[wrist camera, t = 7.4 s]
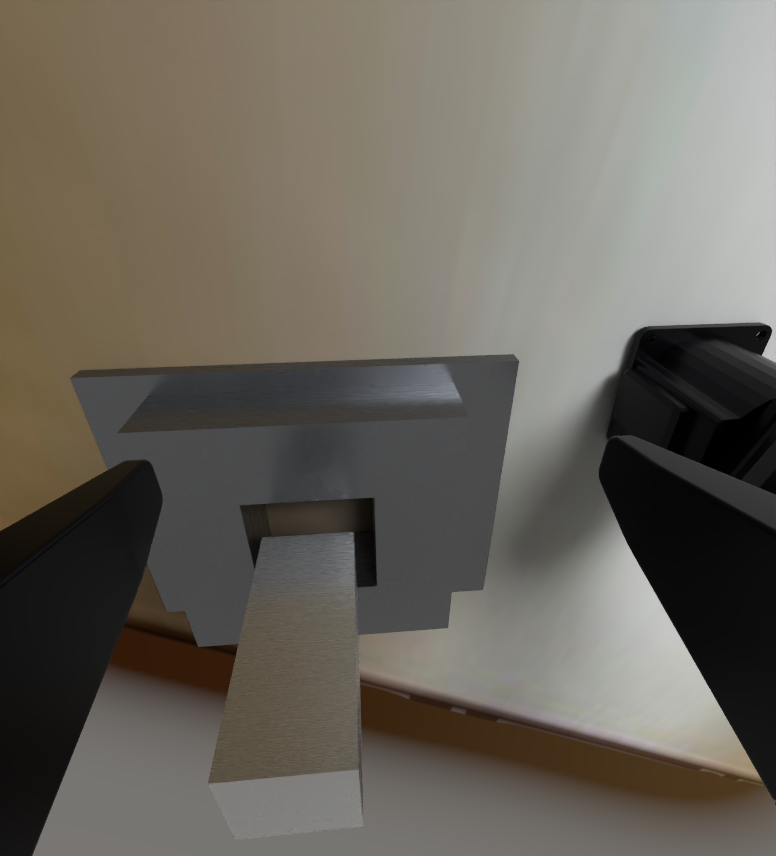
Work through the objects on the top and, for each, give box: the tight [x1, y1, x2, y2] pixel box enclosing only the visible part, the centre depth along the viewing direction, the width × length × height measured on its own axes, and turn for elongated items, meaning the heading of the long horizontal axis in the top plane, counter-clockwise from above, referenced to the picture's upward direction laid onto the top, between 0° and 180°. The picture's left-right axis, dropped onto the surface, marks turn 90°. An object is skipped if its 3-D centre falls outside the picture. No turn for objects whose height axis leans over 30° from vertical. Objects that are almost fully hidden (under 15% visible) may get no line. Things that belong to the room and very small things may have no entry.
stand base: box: [70, 354, 519, 647], centre depth 23 cm, size 20×16×6 cm
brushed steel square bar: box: [208, 532, 364, 840], centre depth 17 cm, size 4×4×9 cm
